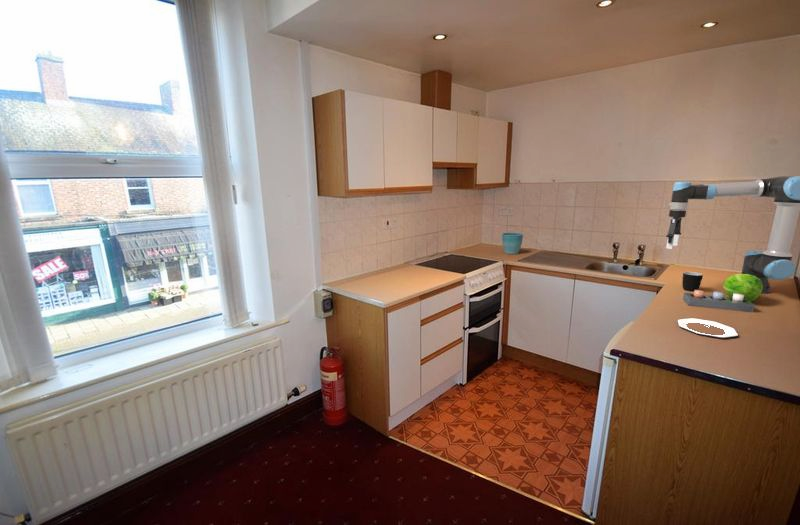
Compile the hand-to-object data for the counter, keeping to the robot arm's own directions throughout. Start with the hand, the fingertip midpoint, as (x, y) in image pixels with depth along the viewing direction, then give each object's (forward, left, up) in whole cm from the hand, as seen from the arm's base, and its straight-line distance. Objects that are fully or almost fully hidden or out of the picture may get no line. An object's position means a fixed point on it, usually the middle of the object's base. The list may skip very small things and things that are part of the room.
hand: (671, 247), depth 210 cm
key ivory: (-26, +22, -23) cm, 41 cm away
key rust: (-10, +22, -23) cm, 33 cm away
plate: (-3, +61, -26) cm, 67 cm away
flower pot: (+97, -80, -26) cm, 129 cm away
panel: (-18, +22, -26) cm, 38 cm away
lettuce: (-33, +6, -26) cm, 42 cm away
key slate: (-18, +22, -23) cm, 36 cm away
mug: (-14, -7, -26) cm, 30 cm away
